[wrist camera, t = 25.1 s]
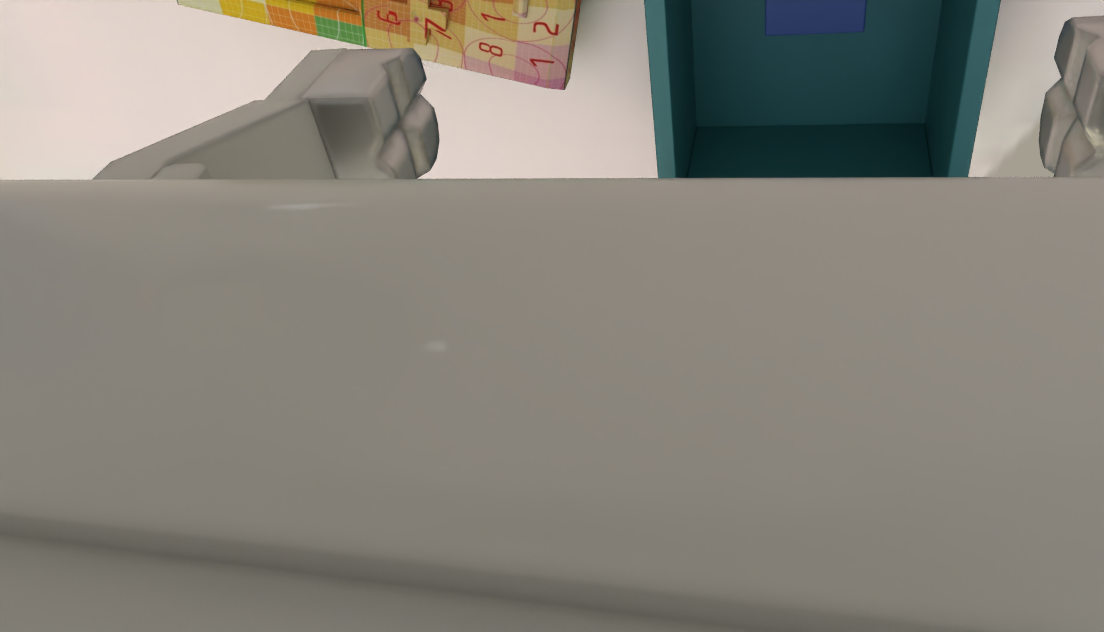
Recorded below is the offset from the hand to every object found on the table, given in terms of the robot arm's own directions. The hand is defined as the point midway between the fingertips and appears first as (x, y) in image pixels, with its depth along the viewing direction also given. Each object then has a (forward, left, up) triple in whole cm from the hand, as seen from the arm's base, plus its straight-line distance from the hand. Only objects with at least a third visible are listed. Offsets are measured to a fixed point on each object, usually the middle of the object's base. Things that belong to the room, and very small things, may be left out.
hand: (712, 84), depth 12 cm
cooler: (+1, -11, -31) cm, 33 cm away
